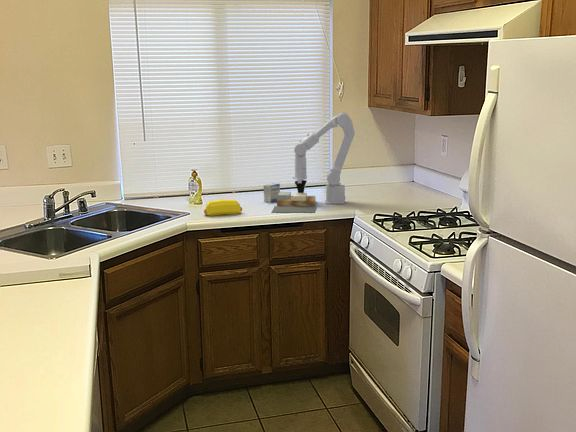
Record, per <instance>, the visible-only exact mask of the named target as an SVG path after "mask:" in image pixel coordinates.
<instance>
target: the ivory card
mask: <svg viewBox="0 0 576 432" xmlns="http://www.w3.org/2000/svg"><path fill="white" fill-rule="evenodd" d="M292 196H293V201H306V198H307V196H308V193H307V192H304V193H298V192H294V193H293V195H292Z"/></svg>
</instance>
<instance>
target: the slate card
mask: <svg viewBox="0 0 576 432" xmlns="http://www.w3.org/2000/svg"><path fill="white" fill-rule="evenodd" d="M291 196H292V191H280V192H279V194H278V200H289V199H290V197H291Z"/></svg>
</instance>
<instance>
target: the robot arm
mask: <svg viewBox="0 0 576 432" xmlns="http://www.w3.org/2000/svg"><path fill="white" fill-rule="evenodd" d="M352 120H353V119H352V118H351V117H350V116H349V114H348V113H346V112H339V113H338V114H337V115H334V117H331V118H330V119H329V120H328V121H326V123H325V124H323V125H322V126H321V127H320V128H319V129H318V130H317V131H315V132H310V133H309V132H308V133H307V134H306V137H304V138H303V139H302V140H299V142H298V143H296V145H295V146H294V148H293V150H294V151H293V152H294V176H292V179H293V180H294V179H295V181H294V184H295V186H296V189H297V193H305V187H306V183H307V182H308V181H307V178H308V177H307V176H308V175H307V157H306V154H307V151H309V150H312V148H313V147H314V146H316V145H317V144H318V143H319V141H320V138H321V137H322V136H324V135H325V134H326V133H328V131H331V130H332V129H333V128H338V127H340V128H341V129H342V131H343V134H344V135H343V137H342V139H341V143H340V145H339V148H338V151H337V153H336V155H335V159H334V161H333V164H332V166H331V168H330V170H329V171H328V172H327V174H326V180H327V183H325V202H324V204H326V205H330V204H332V205H333V204H336V205H339V204H340V205H341V204H342V205H343V204H346V203H345V201H346V193H345V191H346V190H345V189H346V186H345V184H342V183H341V182H340V181H341V172H342V169H343V166H344V162H346V158H347V156H348V153H349V151H350V148H351V145H352V142H353V140H354V136H355V128H354V123H353V121H352Z"/></svg>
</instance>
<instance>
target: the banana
mask: <svg viewBox="0 0 576 432" xmlns="http://www.w3.org/2000/svg"><path fill="white" fill-rule="evenodd" d="M242 212H243V208H242V206H241V204H240V203H239V202H238V200H236V199H217V200H215V199H214V200H210V201H208V202H207V204H206V205H205V208H204V210H203V213H204V215H207V216H209V217H214V216H216V215H217V216H223V215H231V214H232V215H239V214H241V213H242Z"/></svg>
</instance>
